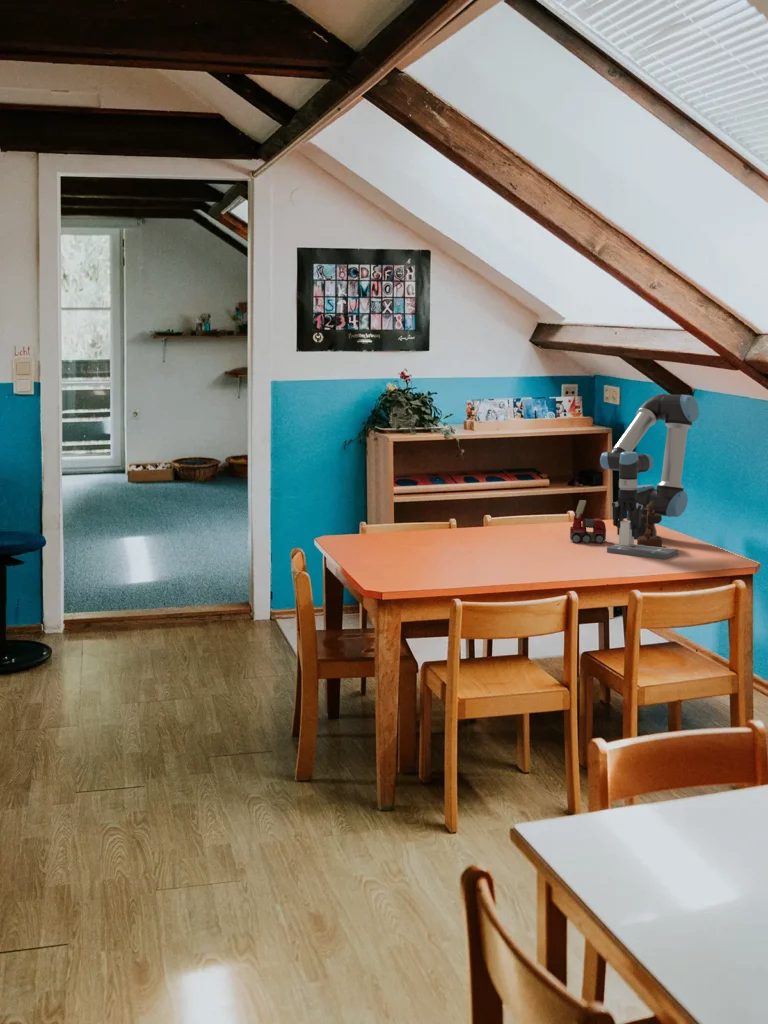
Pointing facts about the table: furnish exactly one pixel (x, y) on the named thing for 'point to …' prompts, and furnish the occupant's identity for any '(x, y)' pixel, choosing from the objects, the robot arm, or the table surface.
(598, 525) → the toy fire truck
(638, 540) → the brown tall irregular piece
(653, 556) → the slider board
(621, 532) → the fader tab
